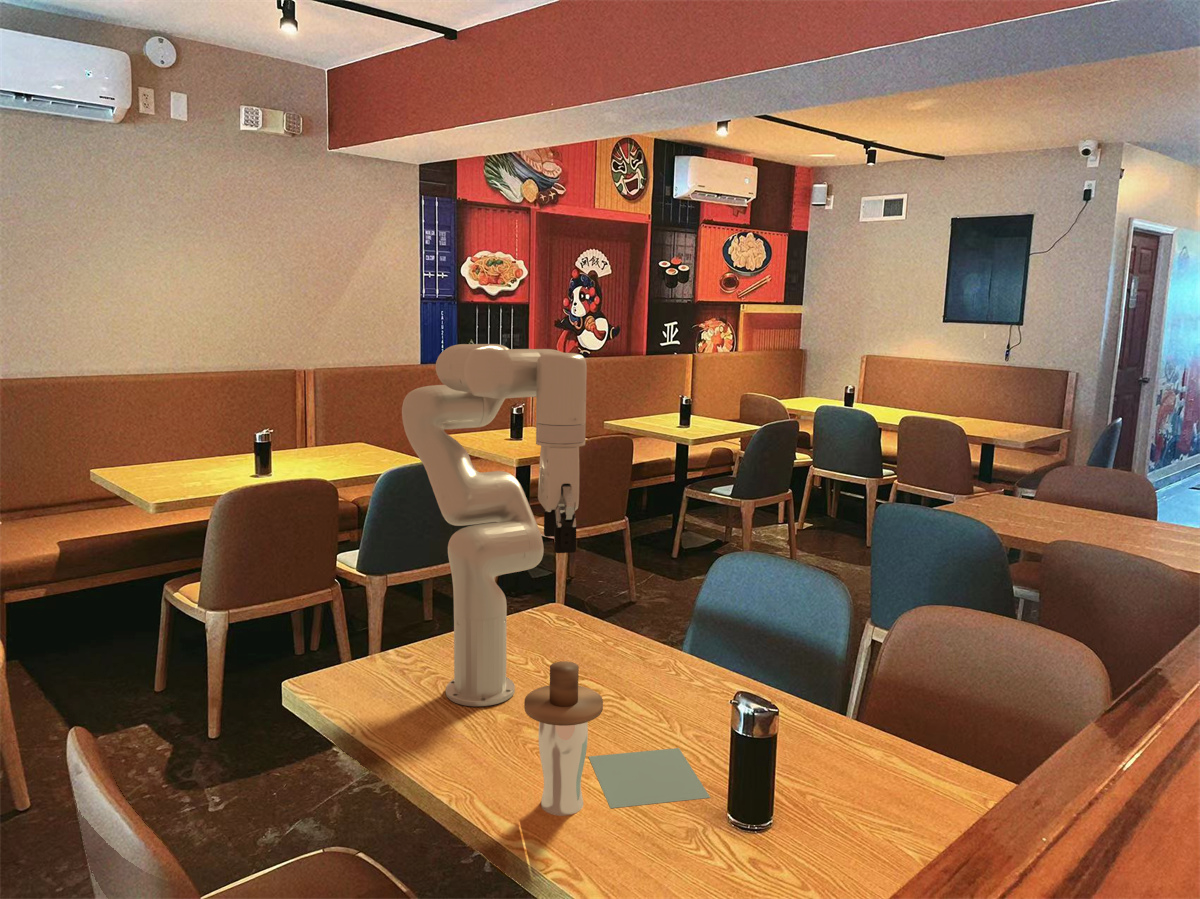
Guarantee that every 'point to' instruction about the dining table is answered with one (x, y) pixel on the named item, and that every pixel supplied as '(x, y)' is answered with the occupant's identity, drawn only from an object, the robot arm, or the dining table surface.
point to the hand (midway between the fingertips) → (559, 543)
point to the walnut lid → (563, 698)
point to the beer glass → (562, 766)
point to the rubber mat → (647, 778)
